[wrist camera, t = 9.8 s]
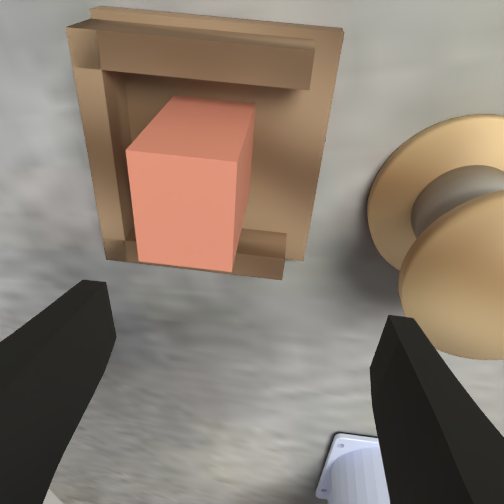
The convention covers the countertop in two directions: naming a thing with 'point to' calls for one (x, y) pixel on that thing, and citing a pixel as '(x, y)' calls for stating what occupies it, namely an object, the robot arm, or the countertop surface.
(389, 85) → the countertop surface
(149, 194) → the pink rectangular block
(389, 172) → the bobbin
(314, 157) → the notch board
